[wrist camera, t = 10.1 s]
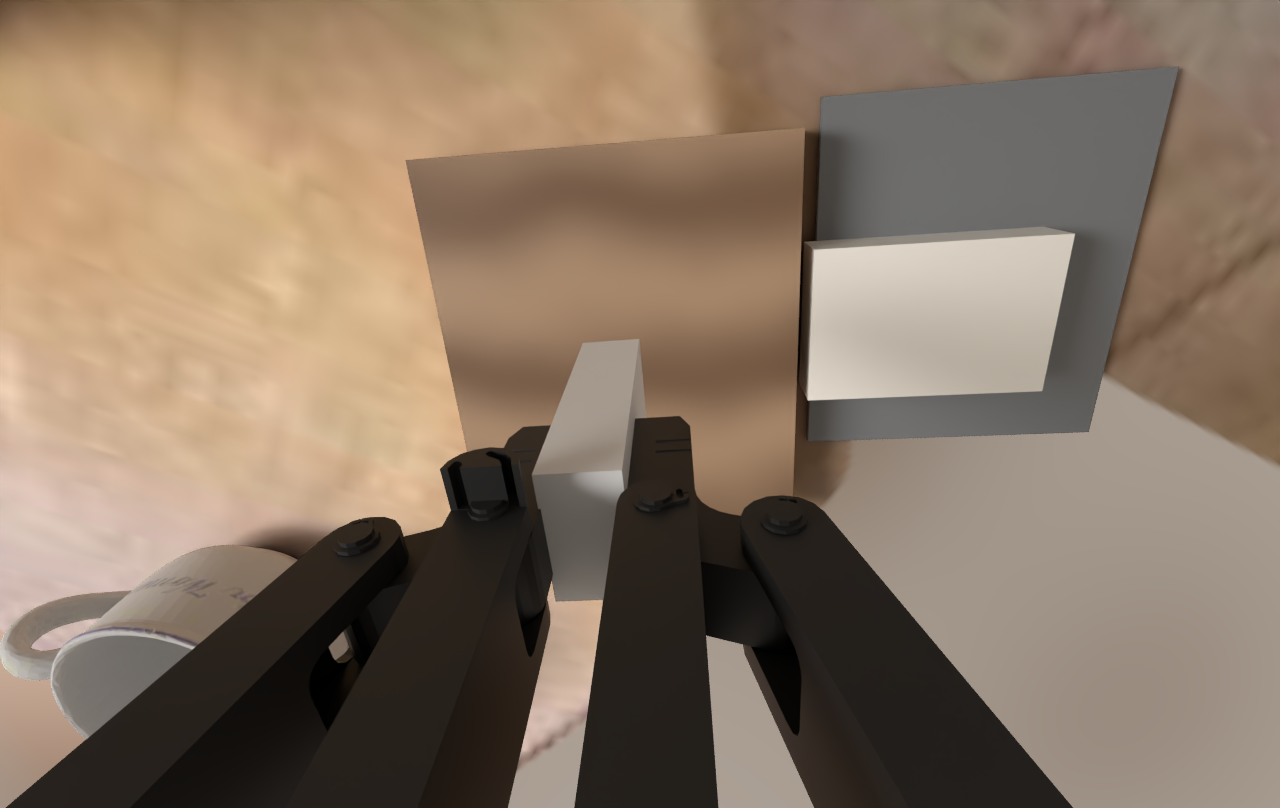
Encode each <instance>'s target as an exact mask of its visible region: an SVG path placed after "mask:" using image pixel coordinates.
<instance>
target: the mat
mask: <svg viewBox="0 0 1280 808" xmlns="http://www.w3.org/2000/svg"><path fill="white" fill-rule="evenodd" d="M1178 69H1179V66H1178V67H1167V68H1155V69H1143V70H1132V71H1120V72H1108V73H1097V74H1085V75H1073V76H1062V77H1050V78H1038V79H1027V80H1015V81H1003V82H992V83H980V84H968V85H957V86H945V87H933V88H921V89H910V90H898V91H886V92H875V93H863V94H851V95H840V96H828V97H821V106H820V131H819V155H818V179H817V203H816V228H815V241H824V240H840V239H855V238H871V237H887V236H903V235H919V234H935V233H950V232H966V231H982V230H998V229H1014V228H1030V227H1048V228H1052V229H1057V230H1061V231H1066V232H1070V233H1075V237H1074V241H1073V246H1072V251H1071V256H1070V261H1069V265H1068V270H1067V275H1066V280H1065V284H1064V289H1063V294H1062V299H1061V304H1060V308H1059V313H1058V318H1057V323H1056V328H1055V332H1054V337H1053V342H1052V347H1051V351H1050V356H1049V361H1048V366H1047V371H1046V375H1045V380H1044V385H1043V390H1042V391H1035V392H1010V393H985V394H960V395H935V396H909V397H884V398H859V399H834V400H809V401H808V422H807V440H808V442H815V441H843V440H870V439H871V440H872V439H899V438H900V439H901V438H929V437H958V436H987V435H1015V434H1044V433H1070V432H1071V433H1073V432H1089V428H1090V424H1091V420H1092V416H1093V412H1094V408H1095V404H1096V400H1097V396H1098V392H1099V388H1100V384H1101V380H1102V376H1103V372H1104V368H1105V364H1106V359H1107V355H1108V351H1109V347H1110V343H1111V339H1112V335H1113V331H1114V327H1115V323H1116V319H1117V315H1118V311H1119V307H1120V303H1121V299H1122V295H1123V291H1124V287H1125V283H1126V279H1127V275H1128V271H1129V267H1130V263H1131V259H1132V254H1133V250H1134V246H1135V242H1136V238H1137V234H1138V230H1139V226H1140V222H1141V218H1142V214H1143V210H1144V206H1145V202H1146V198H1147V194H1148V190H1149V186H1150V182H1151V178H1152V174H1153V170H1154V166H1155V162H1156V158H1157V154H1158V149H1159V145H1160V141H1161V137H1162V133H1163V129H1164V125H1165V121H1166V117H1167V113H1168V109H1169V105H1170V101H1171V97H1172V93H1173V89H1174V85H1175V81H1176V77H1177V73H1178Z"/></svg>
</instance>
